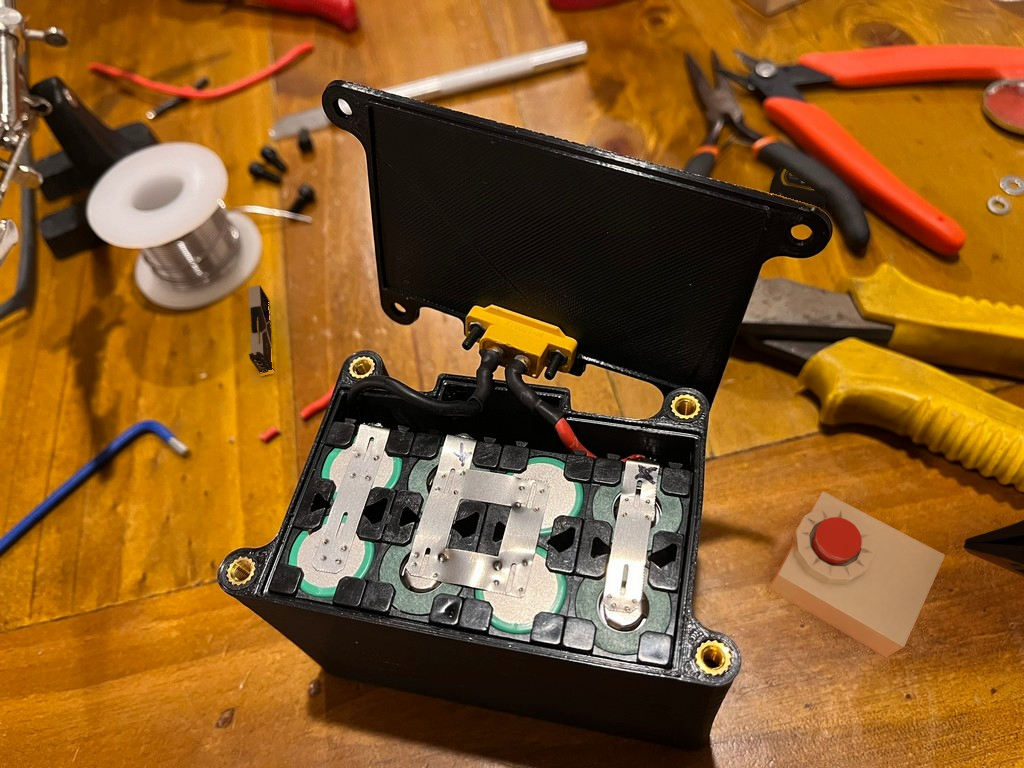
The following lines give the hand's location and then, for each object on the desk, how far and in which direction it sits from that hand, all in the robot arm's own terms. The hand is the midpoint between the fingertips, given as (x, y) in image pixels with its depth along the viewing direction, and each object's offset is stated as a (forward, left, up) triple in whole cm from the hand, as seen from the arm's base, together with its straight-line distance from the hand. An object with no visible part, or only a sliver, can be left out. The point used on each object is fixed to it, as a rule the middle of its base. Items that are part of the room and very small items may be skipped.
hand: (966, 546), depth 65 cm
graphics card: (+79, +13, -13) cm, 81 cm away
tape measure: (+31, -40, -13) cm, 52 cm away
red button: (+9, +3, -6) cm, 11 cm away
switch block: (+6, +3, -13) cm, 15 cm away
